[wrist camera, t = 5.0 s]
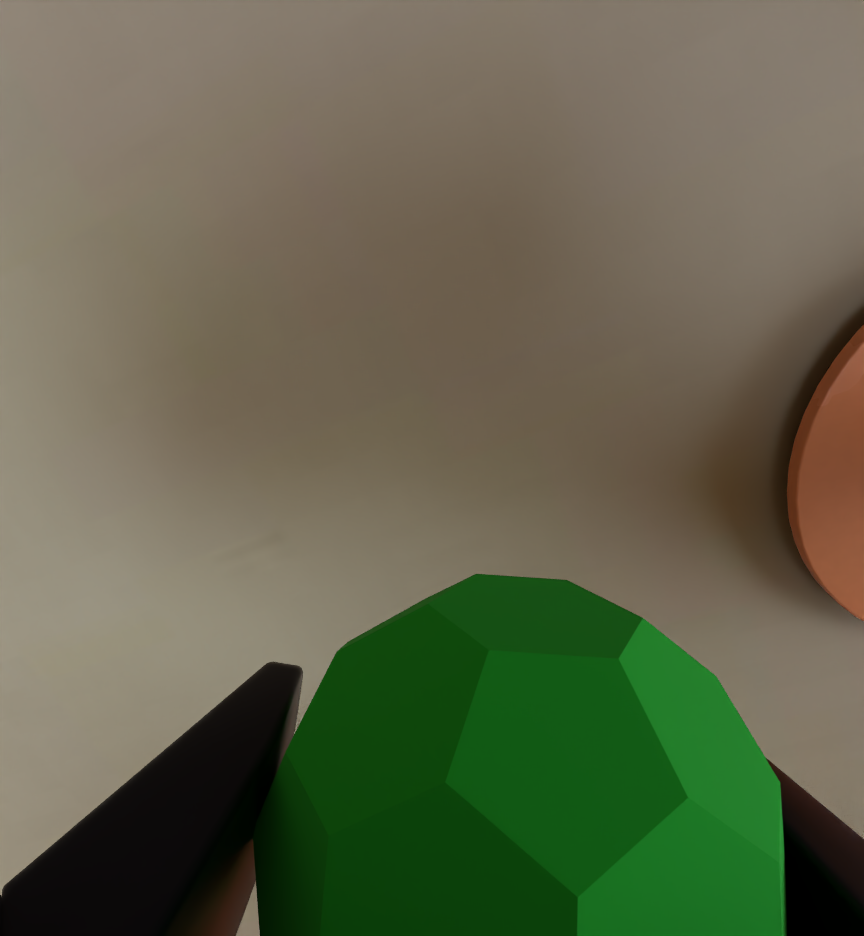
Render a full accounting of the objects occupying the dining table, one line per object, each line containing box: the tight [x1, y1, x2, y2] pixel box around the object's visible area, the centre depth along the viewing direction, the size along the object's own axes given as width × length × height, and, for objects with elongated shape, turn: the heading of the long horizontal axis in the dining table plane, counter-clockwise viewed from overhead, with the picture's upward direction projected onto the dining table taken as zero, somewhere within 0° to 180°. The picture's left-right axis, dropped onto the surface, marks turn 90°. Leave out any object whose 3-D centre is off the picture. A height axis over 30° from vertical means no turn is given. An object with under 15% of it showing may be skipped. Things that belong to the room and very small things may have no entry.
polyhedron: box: [253, 574, 787, 936], centre depth 6 cm, size 5×5×5 cm
